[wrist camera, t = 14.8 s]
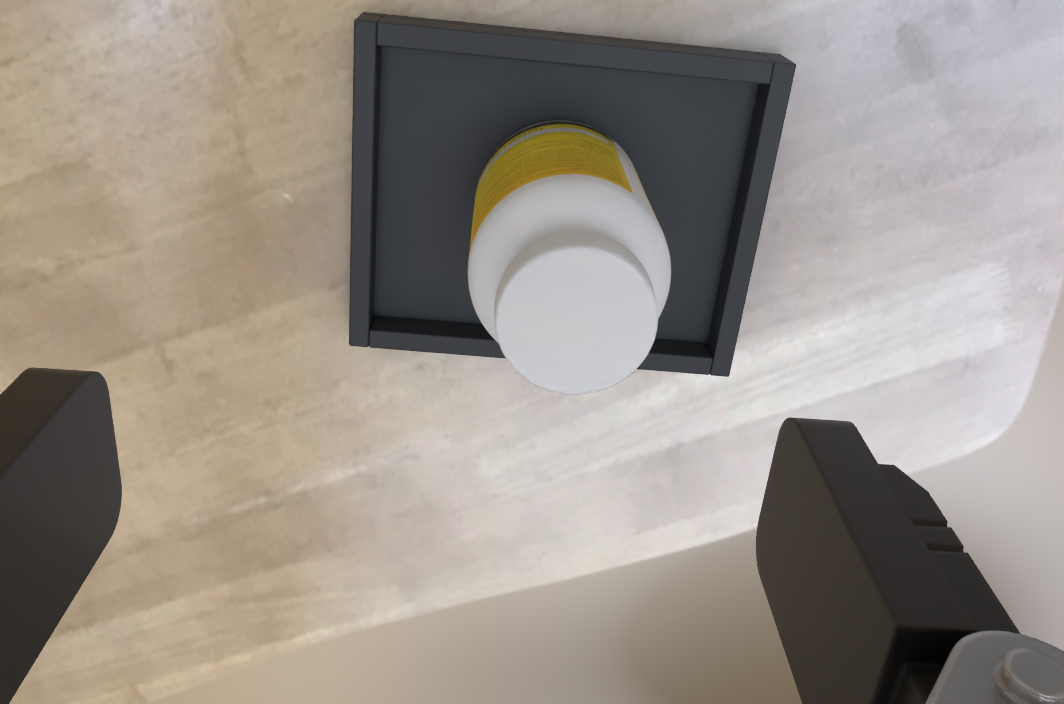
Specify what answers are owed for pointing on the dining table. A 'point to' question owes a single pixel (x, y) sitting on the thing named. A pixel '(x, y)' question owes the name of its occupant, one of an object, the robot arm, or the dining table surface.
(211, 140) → the dining table surface
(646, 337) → the pill bottle
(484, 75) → the holder
